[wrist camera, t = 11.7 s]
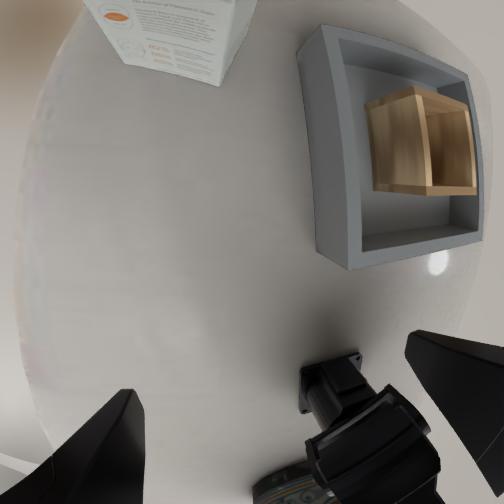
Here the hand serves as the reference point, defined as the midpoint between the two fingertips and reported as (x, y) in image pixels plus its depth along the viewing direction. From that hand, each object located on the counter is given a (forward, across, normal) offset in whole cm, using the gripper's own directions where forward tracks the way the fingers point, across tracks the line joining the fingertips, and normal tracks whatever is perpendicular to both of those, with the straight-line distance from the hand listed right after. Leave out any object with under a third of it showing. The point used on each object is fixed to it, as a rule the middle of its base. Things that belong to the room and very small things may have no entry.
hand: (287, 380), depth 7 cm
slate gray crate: (+13, -14, -8) cm, 21 cm away
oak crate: (+12, -14, -8) cm, 20 cm away
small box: (+13, +2, -17) cm, 22 cm away
